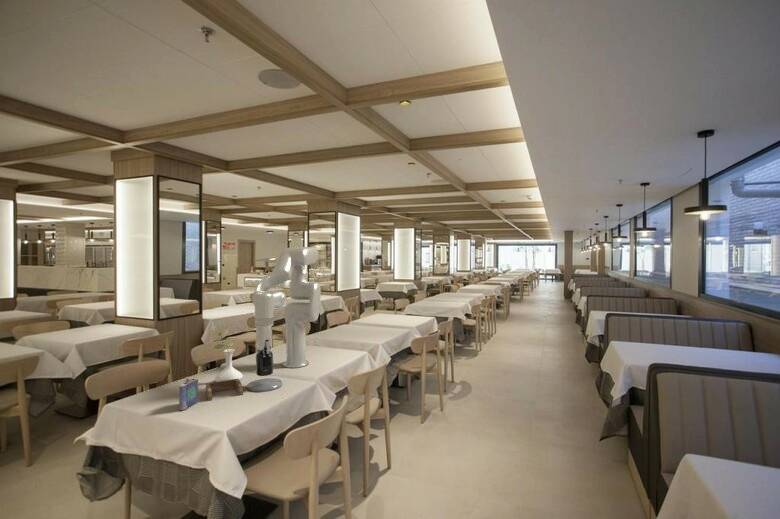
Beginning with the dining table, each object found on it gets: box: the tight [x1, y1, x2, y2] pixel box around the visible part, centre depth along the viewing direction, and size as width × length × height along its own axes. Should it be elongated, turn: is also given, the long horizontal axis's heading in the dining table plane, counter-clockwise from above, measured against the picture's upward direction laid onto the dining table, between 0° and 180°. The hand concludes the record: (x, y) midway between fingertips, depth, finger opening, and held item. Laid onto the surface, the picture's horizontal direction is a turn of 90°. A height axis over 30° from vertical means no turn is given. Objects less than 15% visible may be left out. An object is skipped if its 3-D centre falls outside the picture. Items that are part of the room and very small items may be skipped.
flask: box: [178, 376, 199, 412], centre depth 142 cm, size 9×3×11 cm, turn 173°
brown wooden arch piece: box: [205, 379, 244, 402], centre depth 155 cm, size 11×12×4 cm
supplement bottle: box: [255, 345, 274, 377], centre depth 164 cm, size 7×7×12 cm
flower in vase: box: [209, 325, 244, 382], centre depth 170 cm, size 13×11×25 cm
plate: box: [246, 377, 283, 393], centre depth 164 cm, size 14×14×1 cm
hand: (264, 363), depth 164 cm, fingers closed on supplement bottle, 6 cm apart
